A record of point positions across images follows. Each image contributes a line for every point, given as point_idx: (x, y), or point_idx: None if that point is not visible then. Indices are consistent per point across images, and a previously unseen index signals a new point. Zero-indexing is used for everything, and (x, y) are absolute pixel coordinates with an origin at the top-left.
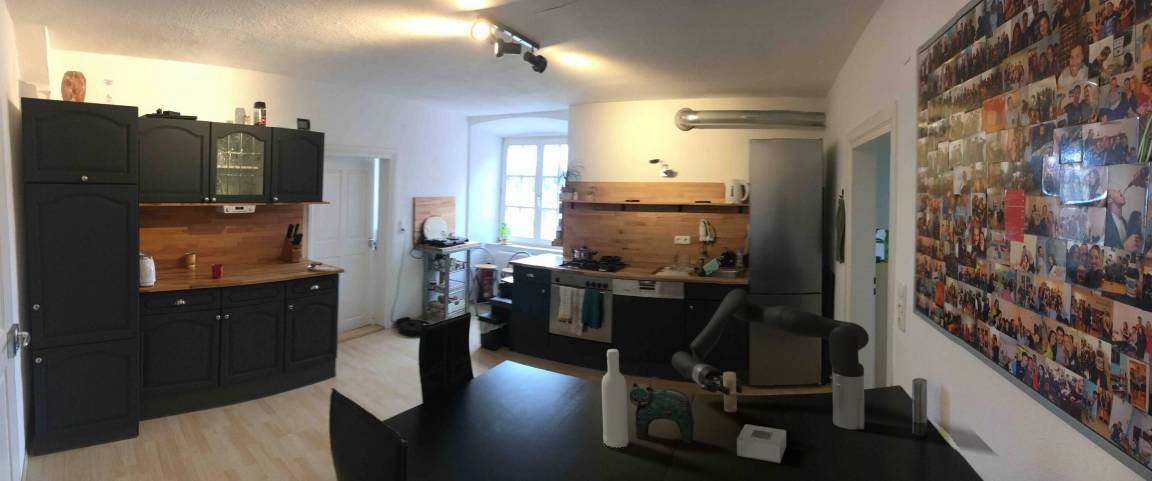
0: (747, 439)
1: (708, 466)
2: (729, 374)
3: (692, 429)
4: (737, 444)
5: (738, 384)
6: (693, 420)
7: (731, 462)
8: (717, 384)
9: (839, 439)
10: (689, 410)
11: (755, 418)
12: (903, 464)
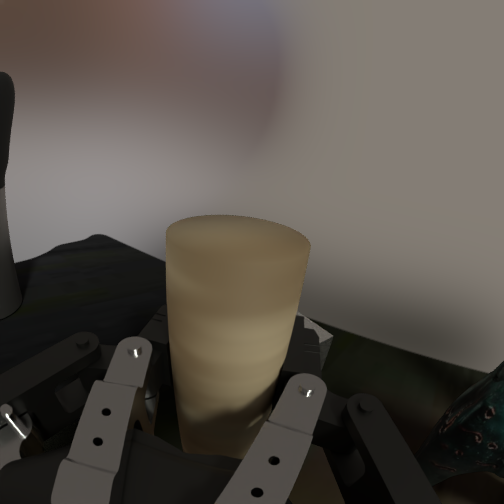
0: (307, 325)
1: (401, 361)
2: (262, 227)
3: (431, 431)
4: (328, 347)
5: (106, 352)
6: (440, 425)
7: (350, 356)
8: (321, 407)
9: (72, 300)
10: (479, 381)
11: None
12: (118, 252)
